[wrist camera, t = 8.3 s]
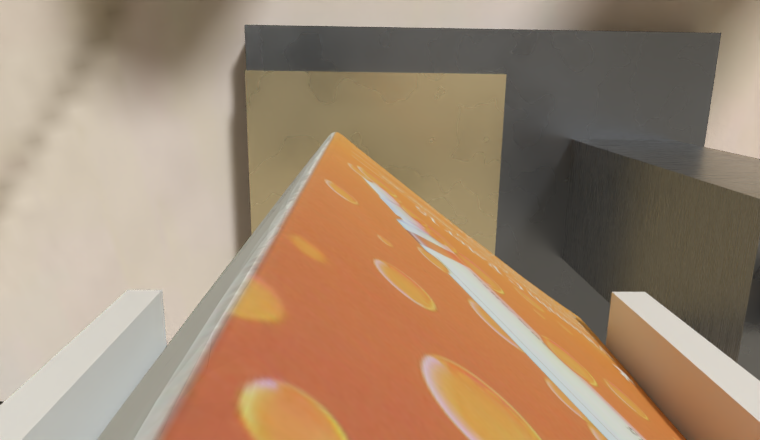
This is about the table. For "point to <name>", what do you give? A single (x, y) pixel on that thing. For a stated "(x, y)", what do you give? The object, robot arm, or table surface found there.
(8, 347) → the table surface
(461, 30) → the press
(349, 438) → the small box
